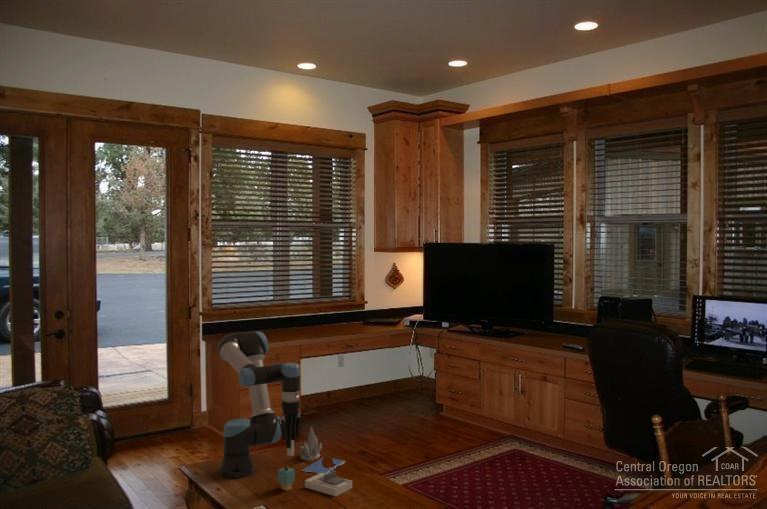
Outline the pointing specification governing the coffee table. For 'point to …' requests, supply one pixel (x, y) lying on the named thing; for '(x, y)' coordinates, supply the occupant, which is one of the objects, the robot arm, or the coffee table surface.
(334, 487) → the grey tray
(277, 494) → the coffee table surface
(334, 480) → the shutter
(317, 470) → the blue flat panel
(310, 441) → the crystal
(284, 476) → the plug
